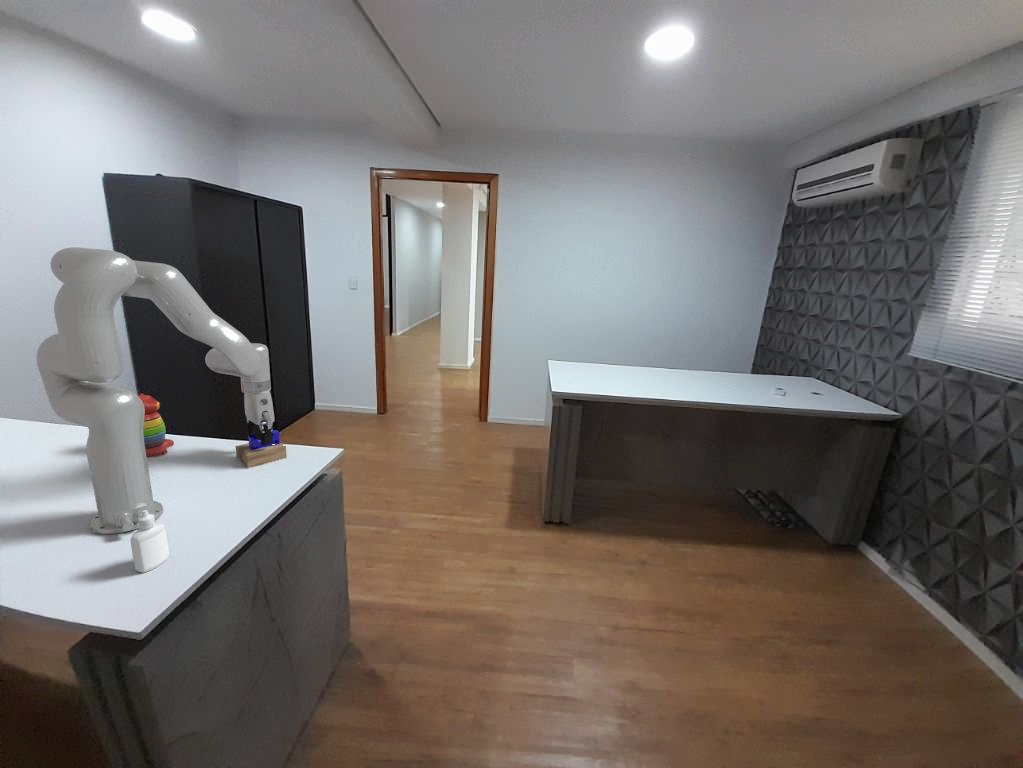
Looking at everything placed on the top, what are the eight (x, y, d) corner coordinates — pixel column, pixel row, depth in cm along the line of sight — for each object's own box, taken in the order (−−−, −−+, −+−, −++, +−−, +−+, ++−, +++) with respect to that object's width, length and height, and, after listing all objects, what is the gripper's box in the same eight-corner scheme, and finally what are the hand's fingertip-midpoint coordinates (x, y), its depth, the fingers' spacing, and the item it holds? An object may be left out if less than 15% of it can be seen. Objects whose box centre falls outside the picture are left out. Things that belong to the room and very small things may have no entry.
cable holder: (275, 440, 137) (274, 428, 136) (279, 443, 135) (279, 431, 134) (247, 446, 131) (246, 434, 130) (251, 450, 129) (250, 437, 128)
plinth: (286, 457, 135) (285, 445, 134) (248, 468, 127) (246, 455, 126) (274, 448, 141) (273, 436, 140) (236, 458, 132) (235, 445, 131)
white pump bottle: (173, 563, 87) (165, 510, 84) (137, 576, 83) (127, 521, 80) (168, 552, 90) (160, 501, 87) (132, 565, 86) (123, 511, 83)
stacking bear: (164, 456, 130) (156, 400, 126) (121, 459, 126) (112, 401, 122) (176, 442, 140) (169, 389, 135) (136, 445, 136) (128, 390, 131)
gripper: (282, 390, 125) (285, 444, 130) (258, 377, 136) (261, 428, 140) (254, 394, 120) (258, 451, 124) (231, 381, 130) (236, 434, 135)
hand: (260, 439), depth 132 cm, fingers open, 9 cm apart
